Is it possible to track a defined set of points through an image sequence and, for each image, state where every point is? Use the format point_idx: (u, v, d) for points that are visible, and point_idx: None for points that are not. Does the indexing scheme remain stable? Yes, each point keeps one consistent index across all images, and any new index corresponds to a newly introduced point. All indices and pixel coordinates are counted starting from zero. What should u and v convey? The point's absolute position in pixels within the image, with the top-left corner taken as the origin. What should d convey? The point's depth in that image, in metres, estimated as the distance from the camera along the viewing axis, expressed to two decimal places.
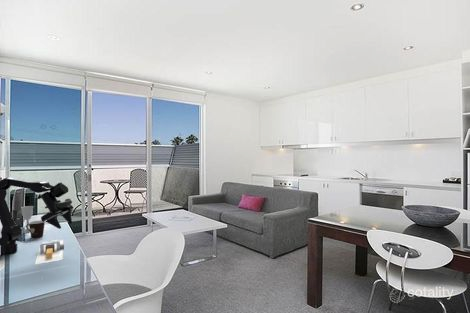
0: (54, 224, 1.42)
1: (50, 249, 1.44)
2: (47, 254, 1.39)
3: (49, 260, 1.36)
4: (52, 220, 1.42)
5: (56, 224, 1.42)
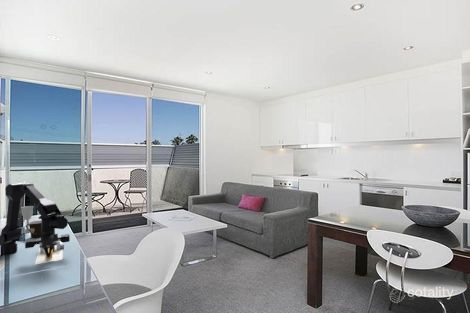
0: None
1: None
2: None
3: (49, 260, 1.36)
4: None
5: None
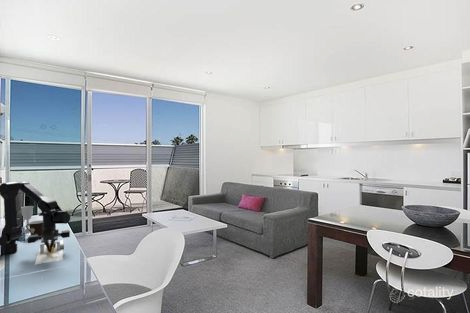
0: None
1: None
2: None
3: (49, 260, 1.36)
4: None
5: (47, 247, 1.44)
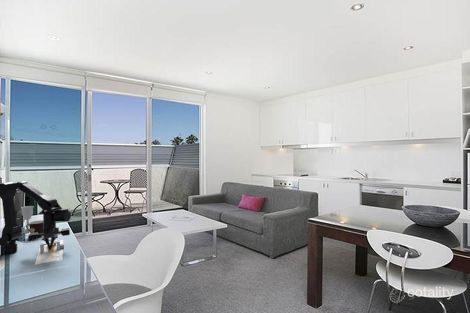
0: (47, 243, 1.47)
1: None
2: None
3: (49, 260, 1.36)
4: None
5: (47, 245, 1.46)
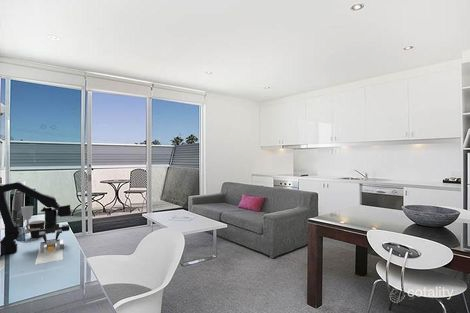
0: (44, 239, 1.56)
1: None
2: (49, 248, 1.48)
3: (49, 260, 1.36)
4: None
5: (44, 240, 1.56)
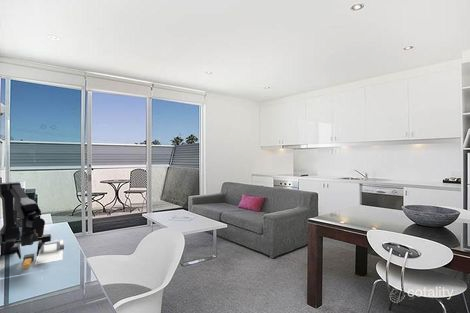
0: None
1: (28, 259, 1.32)
2: (24, 266, 1.26)
3: (49, 260, 1.36)
4: None
5: None
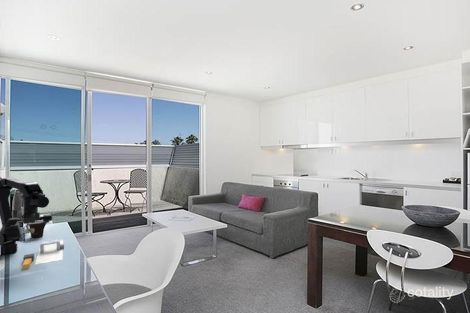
0: None
1: (28, 260, 1.32)
2: (24, 266, 1.26)
3: (49, 260, 1.36)
4: None
5: None
